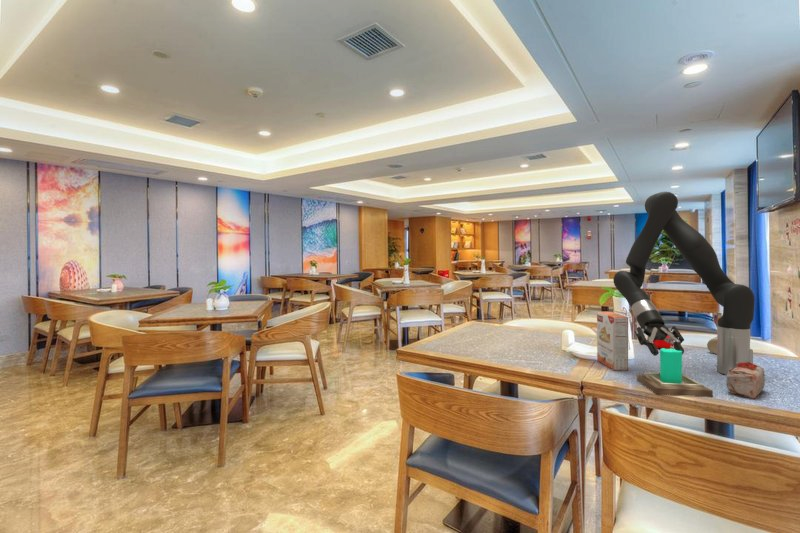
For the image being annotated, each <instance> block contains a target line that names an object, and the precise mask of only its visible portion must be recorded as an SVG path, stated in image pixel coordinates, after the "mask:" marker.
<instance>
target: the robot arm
mask: <svg viewBox="0 0 800 533" xmlns="http://www.w3.org/2000/svg"><path fill="white" fill-rule="evenodd" d="M678 206H679V200H678V197H677V196H676V195H675V194H674V193H672V192H670V191H660V192H657V193H655V194H651V195H650V196H648V197H647V199H646V200H645V203H644V210H645V212H646V213H647V215H648V216H647V219H646V221H645V224H644V226H643V227H642V229H641V231H640V232H639V234H638V236H637V237H636V239H635V240H634V242H633V244H632V246H631V247H630V250H629V253H628V255H627V257H626V260H625V264H626V265H627V266H628V267H629V268H630V269H629V271H626V270H619V271H617V272H615V274H614V276H613V280H612V281H613V285H614V287H615V289H616V290H617V291H618V292H619V293H620V294H621V295H622V297H624V299H625V300H626V301H627V303H628V305H629V307H630V308H631V311H632V314H633V316H634V318H635V319H636V321H637V324H638V327H637V328H636V329H635V330H634V334H635V336H636V338H637V340H638V344H640V345H641V346H646V347H647V348H648V350H649V353H651V355H652V356H653V357H654V356H655V357H656V356H658V355H660V351H659V349H658V348H657V347H656V346H655V344H654V343H653V340H664V341H666V342H669V343H671V344H672V345H673V347H672V348H673V349H674V350H677V351H682V355H683V354H684V353H685V349H684V347H683V346H682V343H683V342H684V341H685V338H684V337H683V335H682V334H681V332H680V331H679V329H678V328H677V327H676V326H674V325H673V326H672V327H668V326H666V325H665V321H664V319H663V317H662V315H661V313H660V312H659V310H658V309H657V307H656V305H655V304H654V302H652V300H651V299H650V297H649V295H648V294H647V292H646V291H645V290H643V289H641V287H643V284H644V282H645V274H646V267H647V263H648V262H649V260H650V257H651V255H652V252H653V250H654V249H655V247H656V243H657V241H658V239H659V237H660V235H661V233H662V231H664V232H665V234H666V235H667V237H668V238H669V240H670V241H671V243H672V244H673V245H674V247H675V248H676V250H677V251H678V253H679V254H680V255H681V256H682V257H683V259H684V260H685V261H686V262H687V263H688V264H689V265H690V267H691V268H692V269H693V270H694V272H695V273H696V274H697V275H698V276H699V277H700V278H701V280H702V282H703V283H704V285H705V286H706V287H707V289H708V291H709V292H710V294H711V295H712V297H713V299H714V301H715V302H716V303H717V304H718V305H720V306H721V307H723V310H722V315H721V316H720V317H719V318H718V319H717V328H716V334H717V335H716V337H717V354H716V372H717V373H720V374H723V375H726V376H727V373H728V370H729V369H730V368H731V370H733V369H734V368H735V367H737V366H738V365H737V364H736V361H738V362H739V363H743V362H744V363H746V362H750V363H751V364H754V350H753V349H751V325H752V323H753V321H754V317H755V316H754V315H755V305H756V304H755V300H756V299H755V293H754V291H753V290H752V289H751V288H750V287H749V286H746V285H745V284H738V283H734V282H733V281H732V280H731V278H729V276H728V275H727V274H726V273H725V272H724V271H723V269H722V267H721V265H720V261H719V258H718V256H717V253H716V251H715V249H714V248H713V246H712V245H711V244H710V242H709V241H708V239H706V238H705V237H704V235H702V234H701V232H699V231H698V230H697V229H696V228H694V227H693V226H692V225H690V224H689V223H688V222H686V221H685V220H684V219H683V217H681V216H680V214H679V213H678V212H677V208H678ZM645 335H646V336H647V338H646V336H645ZM667 335H668V336H669V338H666V337H667ZM671 339H672V340H674V341H672V340H671Z"/></svg>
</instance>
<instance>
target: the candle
mask: <svg viewBox="0 0 800 533" xmlns="http://www.w3.org/2000/svg"><path fill="white" fill-rule="evenodd" d="M659 373H660V381H662V382H664V383H679V384H682V374H683V354H682V351H677V350H675V348H670V349H664V348H662V349H659Z"/></svg>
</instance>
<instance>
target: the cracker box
mask: <svg viewBox="0 0 800 533" xmlns="http://www.w3.org/2000/svg"><path fill="white" fill-rule="evenodd" d="M596 319H597V320H596V324H597V326H596V329H597V330H596V332H597V333H596V340H597V343H596V345H597V346H596V347H597V349H596V350H597V351H596V352H597V353H596V354H597V356H596V358H597V361H598V362H599V363H601V364H603V365H604V366H606V367H607V368H609V369H610V370H612V371H617V372H618V371H629V317H628V316H626V315H625V316H624V315H622V314H619V313H616V312H613V311H597V312H596Z"/></svg>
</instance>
